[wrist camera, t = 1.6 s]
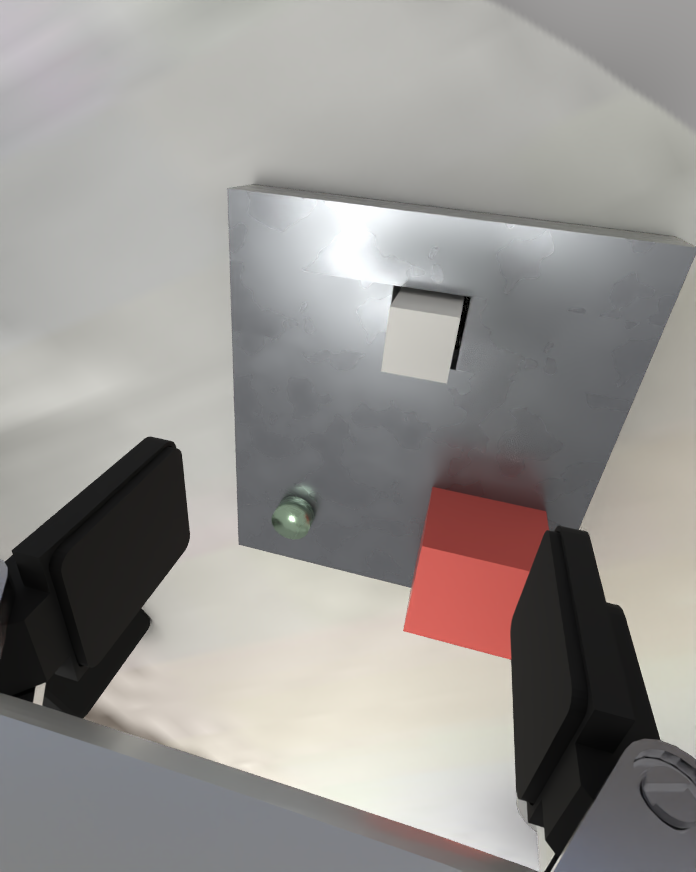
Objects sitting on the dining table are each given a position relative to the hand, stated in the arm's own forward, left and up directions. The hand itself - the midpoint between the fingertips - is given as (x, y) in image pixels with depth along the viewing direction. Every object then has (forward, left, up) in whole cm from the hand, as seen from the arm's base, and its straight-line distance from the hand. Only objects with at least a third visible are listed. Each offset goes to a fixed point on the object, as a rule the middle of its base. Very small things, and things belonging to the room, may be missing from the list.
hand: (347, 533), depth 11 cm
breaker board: (0, +6, -18) cm, 19 cm away
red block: (-5, +12, -15) cm, 20 cm away
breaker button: (0, 0, -17) cm, 17 cm away
